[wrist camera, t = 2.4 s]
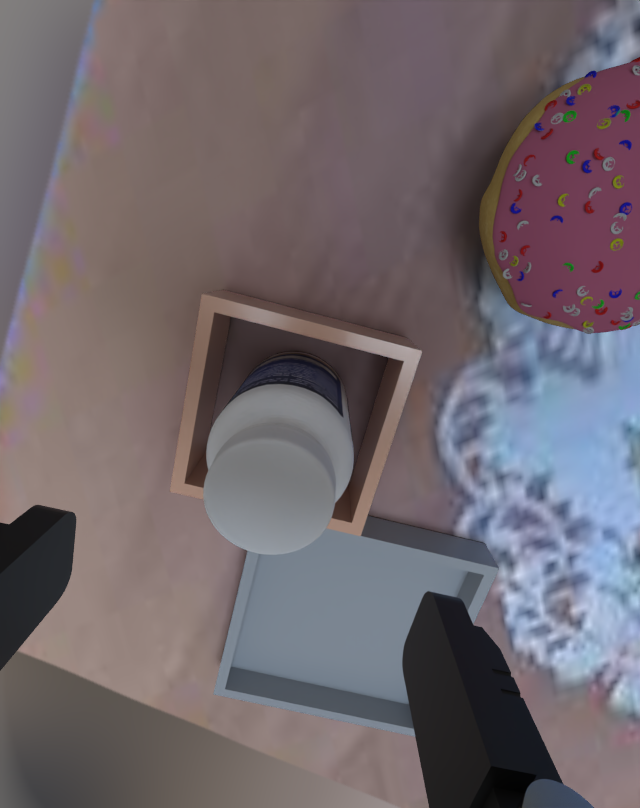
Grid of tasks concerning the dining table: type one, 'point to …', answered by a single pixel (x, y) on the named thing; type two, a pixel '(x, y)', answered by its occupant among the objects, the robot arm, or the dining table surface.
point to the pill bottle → (279, 455)
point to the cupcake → (571, 206)
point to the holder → (229, 304)
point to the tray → (344, 620)
